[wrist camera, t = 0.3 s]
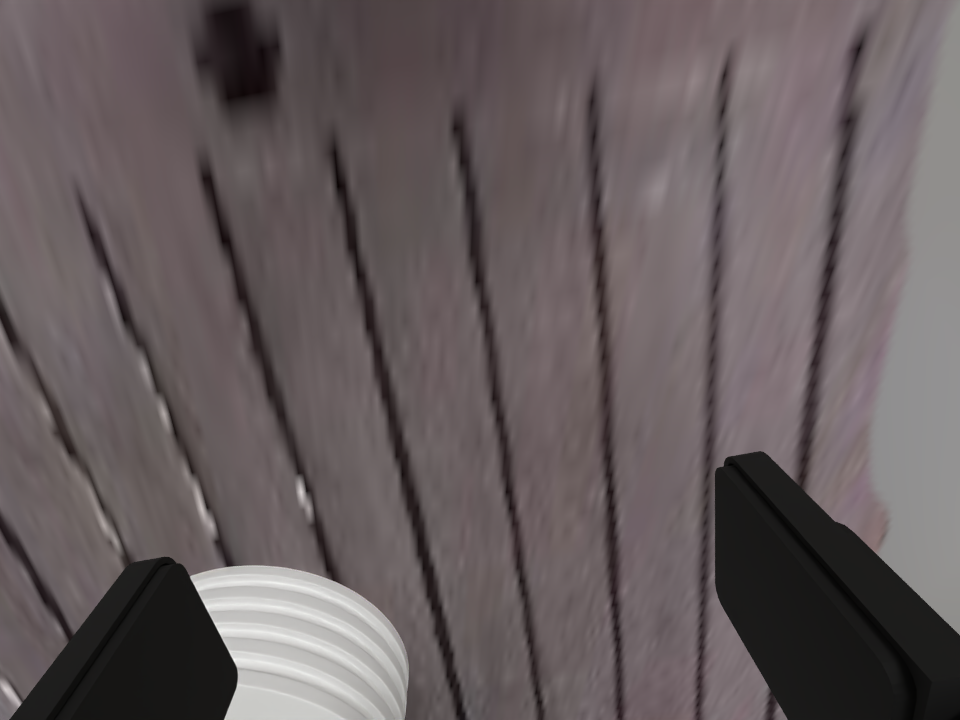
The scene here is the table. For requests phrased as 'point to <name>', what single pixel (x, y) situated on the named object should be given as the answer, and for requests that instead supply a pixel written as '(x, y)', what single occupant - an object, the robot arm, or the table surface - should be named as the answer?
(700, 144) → the table surface
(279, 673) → the plate stack
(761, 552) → the robot arm
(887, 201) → the table surface
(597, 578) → the table surface
